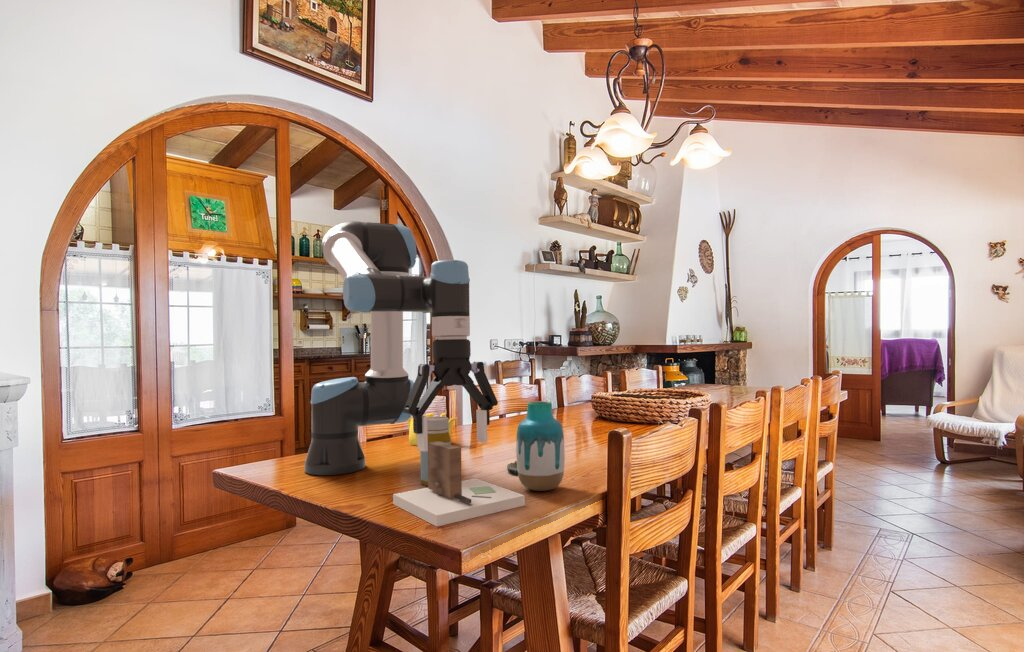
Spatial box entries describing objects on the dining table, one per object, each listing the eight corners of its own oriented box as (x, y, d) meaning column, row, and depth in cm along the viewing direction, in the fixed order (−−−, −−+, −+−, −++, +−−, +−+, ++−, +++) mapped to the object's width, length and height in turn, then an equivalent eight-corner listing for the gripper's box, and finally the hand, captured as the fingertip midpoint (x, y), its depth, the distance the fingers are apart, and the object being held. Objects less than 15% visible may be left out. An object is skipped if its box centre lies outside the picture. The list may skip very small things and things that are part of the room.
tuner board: (393, 504, 117) (393, 493, 117) (475, 487, 129) (475, 477, 129) (436, 526, 103) (436, 514, 103) (524, 505, 115) (524, 494, 115)
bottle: (445, 487, 129) (444, 420, 129) (416, 486, 131) (415, 420, 131) (455, 480, 136) (454, 416, 136) (427, 479, 137) (426, 416, 138)
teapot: (458, 445, 179) (457, 414, 179) (413, 449, 174) (412, 417, 174) (445, 438, 193) (445, 409, 193) (403, 442, 187) (403, 412, 188)
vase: (529, 498, 119) (527, 406, 120) (509, 486, 129) (508, 401, 129) (574, 492, 124) (572, 403, 124) (551, 481, 133) (549, 398, 134)
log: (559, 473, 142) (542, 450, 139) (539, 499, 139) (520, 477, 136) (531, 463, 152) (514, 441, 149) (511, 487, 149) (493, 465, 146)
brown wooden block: (426, 489, 119) (425, 442, 119) (441, 486, 121) (440, 440, 121) (461, 504, 108) (461, 453, 108) (477, 501, 110) (477, 450, 110)
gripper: (402, 339, 104) (404, 457, 103) (512, 337, 119) (515, 440, 118) (384, 339, 110) (386, 451, 109) (492, 338, 125) (494, 436, 124)
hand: (453, 446), depth 113 cm, fingers open, 13 cm apart
